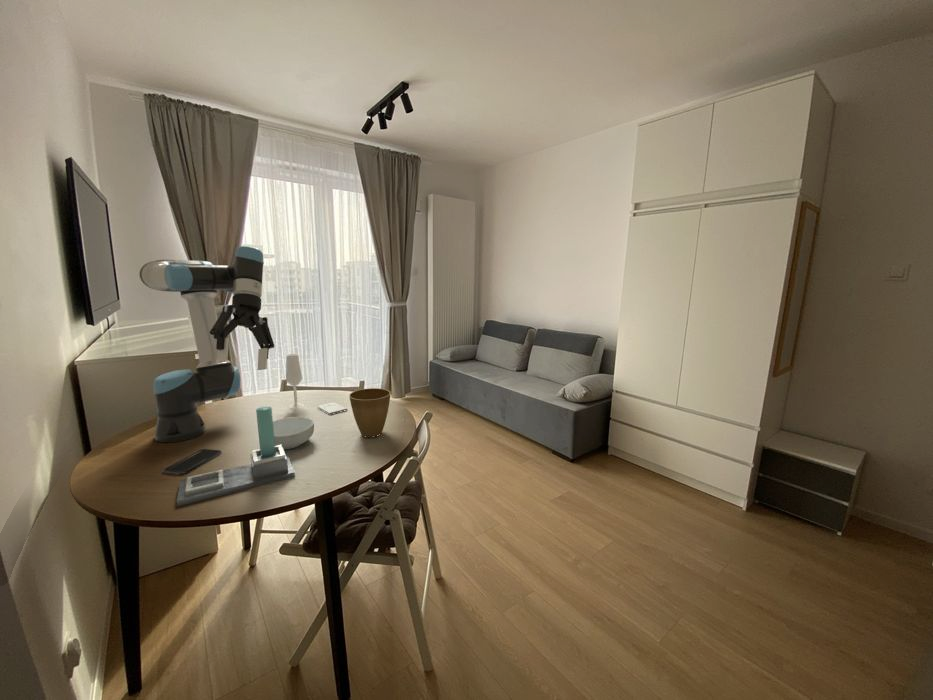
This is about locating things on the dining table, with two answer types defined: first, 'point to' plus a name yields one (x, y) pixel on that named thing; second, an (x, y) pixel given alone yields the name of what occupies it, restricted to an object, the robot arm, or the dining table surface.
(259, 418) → the plug
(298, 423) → the cereal bowl
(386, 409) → the plant pot
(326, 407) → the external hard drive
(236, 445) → the dining table surface
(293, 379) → the champagne flute
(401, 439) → the dining table surface
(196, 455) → the phone
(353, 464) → the dining table surface
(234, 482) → the grey slotted holder
